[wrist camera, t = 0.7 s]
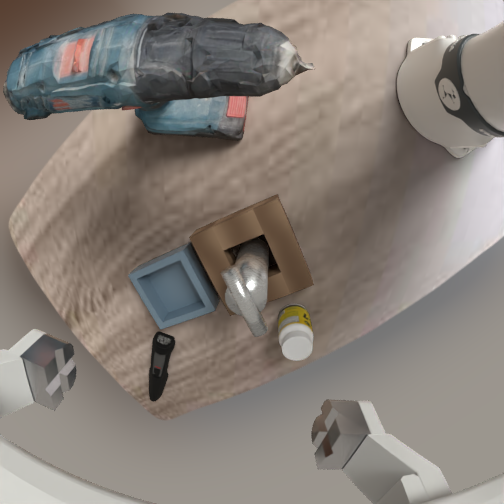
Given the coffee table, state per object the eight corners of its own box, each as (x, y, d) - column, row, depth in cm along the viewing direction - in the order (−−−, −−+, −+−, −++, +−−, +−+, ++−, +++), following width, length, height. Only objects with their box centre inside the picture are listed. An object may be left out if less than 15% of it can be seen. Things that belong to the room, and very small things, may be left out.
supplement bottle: (312, 324, 45) (319, 358, 37) (283, 333, 46) (284, 367, 38) (304, 298, 44) (310, 329, 36) (273, 307, 44) (273, 340, 36)
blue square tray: (189, 242, 42) (183, 250, 39) (219, 299, 44) (215, 310, 41) (137, 266, 44) (128, 275, 40) (167, 317, 46) (160, 329, 43)
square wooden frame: (277, 194, 39) (278, 198, 35) (310, 273, 42) (313, 284, 38) (196, 229, 41) (189, 237, 37) (233, 302, 44) (230, 315, 41)
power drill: (285, 148, 37) (310, 137, 13) (121, 133, 37) (-18, 132, 14) (295, 84, 34) (328, -10, 11) (130, 75, 35) (4, 26, 11)
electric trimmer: (147, 387, 53) (142, 398, 50) (156, 329, 47) (149, 340, 44) (165, 394, 53) (160, 405, 50) (177, 336, 48) (172, 348, 45)
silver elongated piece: (257, 223, 40) (248, 264, 26) (277, 268, 42) (279, 329, 28) (230, 234, 41) (207, 281, 26) (251, 278, 43) (240, 342, 28)
